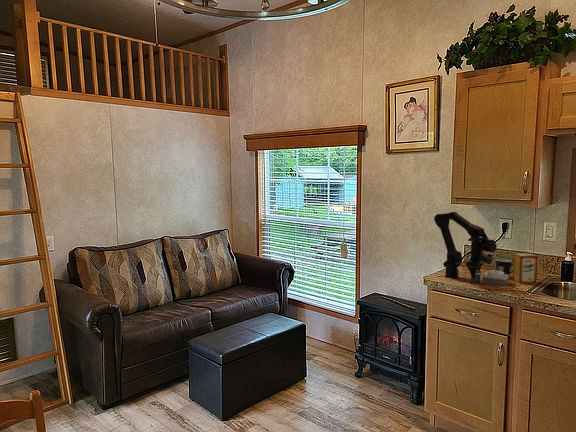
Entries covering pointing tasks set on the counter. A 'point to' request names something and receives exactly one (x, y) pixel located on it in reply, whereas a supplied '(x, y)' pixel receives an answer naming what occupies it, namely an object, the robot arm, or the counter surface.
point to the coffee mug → (503, 265)
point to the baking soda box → (525, 268)
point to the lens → (476, 277)
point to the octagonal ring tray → (495, 278)
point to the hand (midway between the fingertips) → (475, 276)
